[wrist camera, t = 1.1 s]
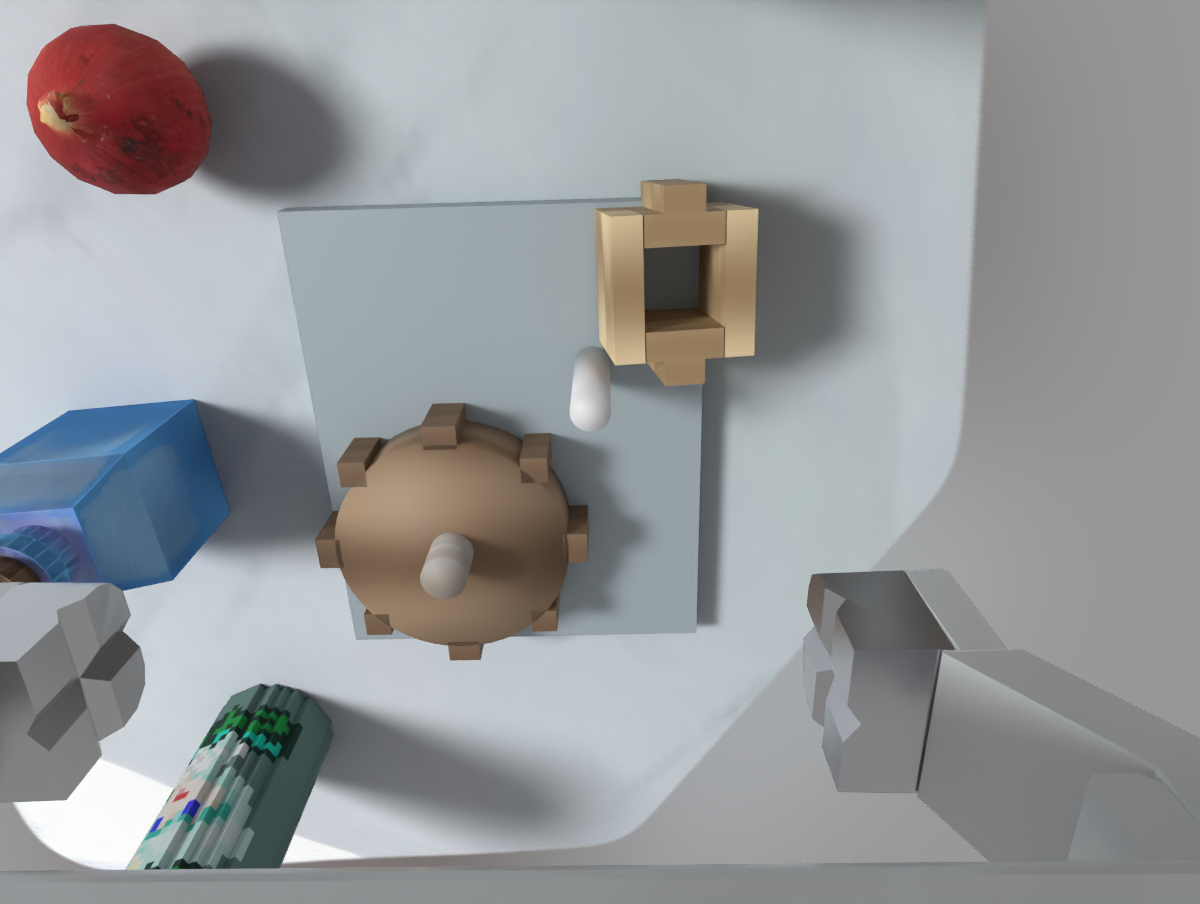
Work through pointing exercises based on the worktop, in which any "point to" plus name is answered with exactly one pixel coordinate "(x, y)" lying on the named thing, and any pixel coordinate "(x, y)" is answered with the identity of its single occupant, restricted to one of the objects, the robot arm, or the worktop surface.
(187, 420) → the perfume bottle
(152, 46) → the onion
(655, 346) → the oak gear
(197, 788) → the can
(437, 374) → the gear board
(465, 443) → the walnut gear
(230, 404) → the worktop surface
